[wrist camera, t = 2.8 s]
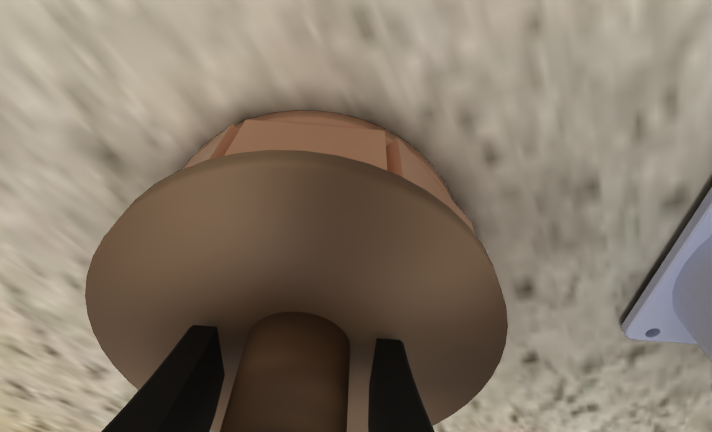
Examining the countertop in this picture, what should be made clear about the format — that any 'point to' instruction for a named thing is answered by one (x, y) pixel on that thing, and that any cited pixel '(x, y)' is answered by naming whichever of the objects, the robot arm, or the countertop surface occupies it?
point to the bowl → (330, 145)
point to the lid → (299, 288)
